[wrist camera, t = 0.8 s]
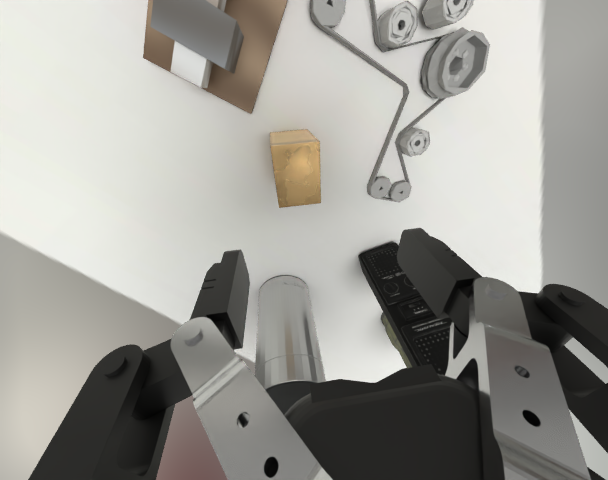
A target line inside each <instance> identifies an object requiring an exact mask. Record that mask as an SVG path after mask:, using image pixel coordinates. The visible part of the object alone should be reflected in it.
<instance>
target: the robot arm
mask: <svg viewBox="0 0 608 480" xmlns="http://www.w3.org/2000/svg"><path fill="white" fill-rule="evenodd" d="M397 261H398V264H399V266H400V267H401V269H402V270H403V271H404V273H405V274H406V275H407V277H408V278H409V280H410V281H411V282H412V284H413V285H414V286H415V288H416V289H417V291H418V292H419V293H420V295H421V296H422V297H423V299H424V300H425V302H426V303H427V304H428V306H429V307H430V308H431V310H432V311H433V312H434V314H435V315H436V317H437V318H438V319H443V318H449V317H450V318H451V320H452V323H451V326H450V343H449V362H448V368H447V371H446V374H445V376H444V375H440V374H437V373H436V371H435V369H434V368H433V366H432V364H429V365H423V366H417V367H411V368H405V369H401V370H399V371H397V372H396V373H394V374H392V375H390V376H388V377H386V378H384V379H382V380H380V381H379V382H376V383H368V382H359V381H351V380H343V379H338V380H332V381H326V379H325V374H324V369H323V364H322V359H321V354H320V349H319V344H318V338H317V333H316V328H315V323H314V318H313V313H312V308H311V302H310V297H309V292H308V288H307V286H306V284H305V283H304V282H303V281H302V280H300V279H299V278H296V277H292V276H279V277H275V278H272V279H270V280H268V281H267V282H266V283H264V284H263V286H262V287H261V289H260V292H259V305H258V323H257V343H256V363H255V376H254V374H253V373H252V372H251V370H250V369H249V368H248V367H247V365H246V364H245V362H244V361H243V360H240V359H239V357H238V356H237V355H236V353H235V352H234V349H240V348H242V347H243V338H244V329H245V320H246V312H247V303H248V294H249V285H250V281H249V273H248V270H247V266H246V263H245V259H244V256H243V253H242V250H234V251H226V252H224V254H223V258H222V261H221V263H215V264H214V265H213V266H212V267H211V268H210V269H209V270H208V271H207V273H206V276H205V279H204V282H203V285H202V287H201V290H200V293H199V296H198V299H197V301H196V304H195V307H194V310H193V313H192V316H191V318H190V320H189V321H187V322H185V323H184V324H183V325H181V326H180V327H179V328H178V329H177V330H176V332H175V333H174V335H173V337H172V338H171V339H170V340H168V341H166V342H163V343H161V344H158V345H156V346H154V347H151V348H149V349H147V350H144V351H143V350H142V349H141V348H140V347H139V346H137V345H126V346H123V347H120V348H118V349H116V350H114V351H112V352H110V353H109V354H108V355H106V356H105V357H104V358H103V359H102V360H101V361H100V362H99V363H98V364H97V365H96V366H95V367H94V369H93V371H92V372H91V373H90V375H89V377H88V379H87V380H86V382H85V384H84V385H83V387H82V389H81V391H80V392H79V394H78V396H77V397H76V399H75V401H74V403H73V404H72V406H71V408H70V409H69V411H68V413H67V414H66V416H65V418H64V420H63V421H62V423H61V425H60V427H59V428H58V430H57V432H56V433H55V435H54V437H53V438H52V440H51V442H50V444H49V445H48V447H47V449H46V450H45V452H44V454H43V456H42V457H41V459H40V461H39V462H38V464H37V466H36V468H35V470H34V471H33V473H32V474H31V476H30V478H29V479H28V480H156V477H157V473H158V469H159V465H160V461H161V457H162V453H163V449H164V445H165V442H166V438H167V433H168V430H169V426H170V421H171V418H172V414H173V410H174V407H175V404H176V403H178V402H180V401H182V400H184V399H186V398H188V397H190V396H191V395H193V396H194V400H193V403H194V406H195V409H196V411H197V413H198V416H199V418H200V420H201V422H202V424H203V426H204V429H205V431H206V433H207V435H208V437H209V440H210V442H211V444H212V446H213V448H214V450H215V453H216V455H217V457H218V459H219V461H220V463H221V466H222V468H223V470H224V472H225V474H226V477H227V479H228V480H605V479H604V478H602V477H601V476H599V475H598V474H597V473H595V472H594V471H592V470H591V469H589V468H588V467H587V466H586V463H585V459H584V456H583V453H582V450H581V447H580V443H579V440H578V437H577V434H576V431H575V428H574V424H573V421H572V418H571V416H570V412H569V410H571V412H572V413H573V414H574V415H575V416H576V418H577V419H579V421H580V422H581V423H582V424H583V426H584V427H585V428H586V429H587V430H588V431H589V432H590V434H591V435H592V436H593V437H594V438H595V439H596V440H597V441H598V443H599V444H600V445H601V446H602V447H603V448H604V450H605V451H606V452H607V453H608V383H607V384H605V383H604V382H603V381H602V380H600V379H599V378H598V377H597V376H596V375H595V374H594V373H593V372H592V371H591V370H590V369H589V368H588V367H587V366H586V365H585V364H583V363H582V362H581V361H580V360H579V359H578V358H577V357H576V356H575V355H574V354H572V352H570V351H569V350H568V349H567V348H566V347H565V346H564V344H566V343H567V342H568V341H569V340H570V339H571V338H573V337H574V338H575V339H576V340H577V341H578V342H580V343H581V344H582V345H583V346H584V347H585V348H587V349H588V350H589V351H590V352H591V353H592V354H593V355H595V356H596V357H597V358H598V359H599V360H600V361H601V362H603V363H604V364H605V365H606V366H607V368H608V309H607V308H605V307H604V306H602V305H601V304H599V303H598V302H596V301H595V300H594V299H592V298H591V297H589V296H588V295H586V294H584V293H582V292H580V291H578V290H576V289H573V288H571V287H567V286H564V285H558V284H549V285H546V286H545V287H543V289H542V290H541V291H540V292H539V293H538V294H537V293H528V292H518V291H516V290H515V289H514V288H513V287H512V286H510V285H509V284H507V283H505V282H503V281H500V280H498V279H494V278H489V277H482V276H481V275H479V274H478V273H477V272H476V271H475V270H474V269H473V268H472V267H470V266H469V265H468V264H467V263H466V262H465V261H464V260H463V259H461V258H460V257H459V256H457V254H456V253H455V252H454V251H452V250H451V249H450V248H449V247H448V246H447V245H446V244H445V243H443V242H442V241H440V240H438V239H436V238H434V237H430V236H429V235H428V234H427V233H426V232H425V231H424V230H423V229H421V228H416V229H408V230H404V231H403V232H402V235H401V240H400V244H399V248H398V252H397Z"/></svg>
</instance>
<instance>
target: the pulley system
mask: <svg viewBox="0 0 608 480" xmlns="http://www.w3.org/2000/svg"><path fill="white" fill-rule="evenodd" d="M345 1H346V0H311V2H310V9H311V18H312V19H313V21H314V22H315V24H316V25H317V26H318V27H319V28H321V29H322V30H324V31H325V32H326V33H328V34H329V35H331V36H332V37H334V38H335V39H336V40H338V41H339V42H341V43H342V44H343V45H345V46H346V47H348V48H349V49H350V50H352V51H353V52H355V53H356V54H358V55H359V56H360V57H362V58H363V59H365V60H366V61H367V62H369V63H370V64H372V65H373V66H375V67H376V68H377V69H379V70H380V71H382V72H383V73H384V74H386V75H387V76H389V77H390V78H391V79H393V80H394V81H396V82H397V83H399V84H400V85H401V86H403V98H402V101H401V103H400V106H399V108H398V111H397V113H396V116H395V118H394V121H393V123H392V126H391V128H390V131H389V133H388V136H387V138H386V141H385V143H384V146H383V148H382V151H381V153H380V156H379V158H378V161H377V163H376V166H375V168H374V171H373V173H372V175H371V178H370V180H369V183H368V184H367V190H368V194H369V195H371V196H372V197H373V198H376V199H382V200H389V201H395V202H401V201H402V200H404V199H406V198H408V197H409V194H410V191H411V185H410V182H409V179H408V175H407V171H406V168H405V164H404V160H403V157H402V153H404V154H406V155H408V156H410V157H412V156H416V155H420V154H422V153H423V152H424V151H425V150H426V149H427V148H428V146H429V144H430V137H429V132H427V131H425V130H421V129H415V128H412V127H413V126H414V125H415V124H416V123H417V122H419V121H420V120H421V119H422V118H423V117H424V116H426V115H427V114H428V113H429V112H430V111H431V110H433V109H434V108H435V107H436V106H437V105H438V104H439V103H441V102H442V101H443V100H444V99H445V98H447V97H451V96H455V95H458V94H460V93H463V92H465V91H467V90H469V89H470V87H471V86H472V85H473V84H474V83H475V82H476V81H477V80H478V79H479V78H480V76H481V75H482V74H483V73H484V72H485V69H486V64H487V58H488V52H489V46H490V44H489V42H488V41H487V39H486V38H485V36H484V34H483V33H480V32H477V31H473V30H471V31H470V32H469V31H468V30H466V29H464V28H463V27H462V28H460V29H459V30H457V31H456V32H453V33H451V34H447V35H443V36H439V37H435V38H431V39H427V40H423V41H419V42H415V43H411V44H407V45H404V44H405V43H407V42H409V41H410V40H411V38H412V36H413V34H414V32H415V30H416V28H417V26H418V22H417V8H416V7H415V6H414V5H412V4H411V3H410V2H409V1H405V2H402V3H400V4H398V5H397V6H395V7H394V8H392V9H390V10H388V11H386V12H385V13H384V14H382V15H381V16H380V18H379V20H378V21H377V14H376V8H375V1H374V0H369V2H370V9H371V16H372V22H373V29H374V36H375V43H376V44H377V45H378V47H379V48H380V49H381V50H382V52H386V51H390V50H394V49H398V48H402V47H405V46H409V45H413V44H417V43H421V42H425V41H429V40H433V39H437V38H440V37H442V38H441V39H440V40H439V41H438V42H437V43H436V44H435V45H434V46H433V47H432V48H431V49H430V50H429V51H428V52H427V55H426V58H425V61H424V65H423V68H422V71H421V77H422V87H423V90H425V91H426V92H427V93H428V94H429V95H430V96H431V97H433V98H439V100H438V101H437V102H436V103H435V104H433V105H432V106H431V107H430V108H429V109H427V110H426V111H425V112H424V113H423V114H421V115H420V116H419V117H418V118H417V119H415V120H414V121H413V122H412V123H411V124H409V125H408V126H407V127H406V128H405V129H403V130H402V131H401V132H400V133H399V135H398V137H397V139H396V141H395V144H396V147H397V151H398V155H399V158H400V162H401V166H402V169H403V173H404V176H405V180H406V182H403V181H400V182H395V184H394V185H393V186H392V184H391V182H390V180H389V178H385V177H383V176H382V177H376V175H377V173H378V170H379V168H380V165H381V163H382V160H383V158H384V155H385V153H386V150H387V148H388V145H389V143H390V140H391V137H392V135H393V132H394V130H395V127H396V125H397V122H398V120H399V117H400V115H401V112H402V110H403V107H404V104H405V102H406V99H407V97H408V94H409V90H408V87H407V84H406V83H404V82H403V81H402V80H400V79H399V78H398V77H396V76H395V75H394V74H392V73H391V72H389V71H388V70H387V69H385V68H384V67H383V66H381V65H380V64H379V63H377V62H376V61H374V60H373V59H372V58H370V57H369V56H368V55H366V54H365V53H364V52H362V51H361V50H359V49H358V48H357V47H355V46H354V45H353V44H351V43H350V42H349V41H347V40H346V39H344V38H343V37H342V36H340V35H339V34H338V33H336V32H335V31H334V30H332V29H331V27H335V26H337V25H338V23H339V22H340V20H341V18H342V16H343V14H344V12H345ZM473 1H474V0H427V2H426V5H425V7H424V9H423V11H422V14H423V18H424V21H425V25H426V26H427V27H429V28H431V29H437V28H440V27H443V26H446V25H450V24H453V23H456V22H457V21H459V20H460V19H462V18H463V17H464V16H465V15H466V14H467V13H468V11H469V10H470V8H471V7H472V5H473ZM326 3H327V4H326ZM402 45H403V46H402ZM401 152H402V153H401ZM391 186H392V187H391ZM389 189H390V190H389ZM388 191H389V195H390V197H391V199H390V198H385V197H384V196H386V194H387V193H388Z"/></svg>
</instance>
